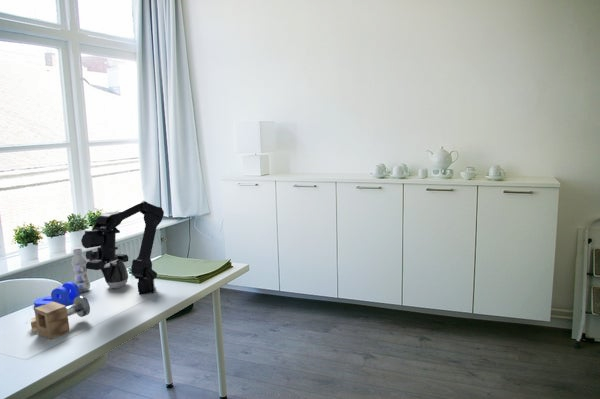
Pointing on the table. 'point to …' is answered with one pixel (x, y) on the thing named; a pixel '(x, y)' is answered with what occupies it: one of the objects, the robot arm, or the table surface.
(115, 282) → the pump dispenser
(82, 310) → the shaft
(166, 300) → the table surface
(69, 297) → the bracket
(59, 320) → the bearing block
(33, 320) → the spacer block
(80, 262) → the plastic bottle
